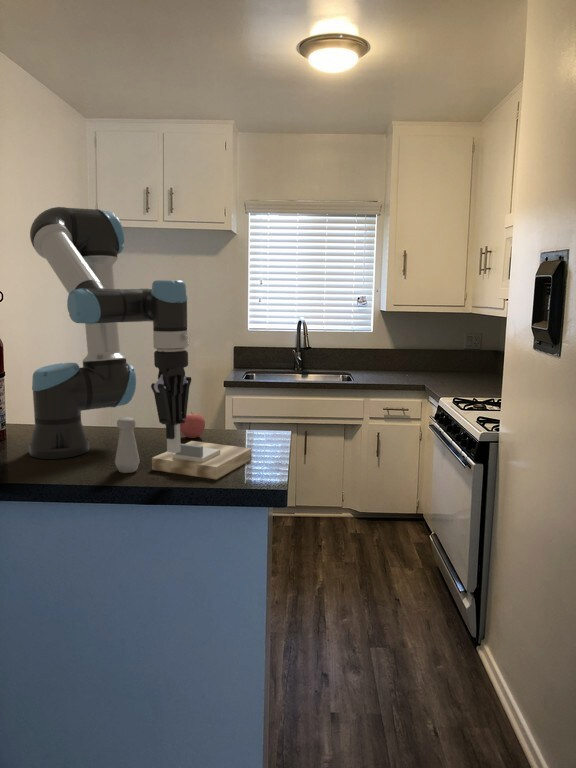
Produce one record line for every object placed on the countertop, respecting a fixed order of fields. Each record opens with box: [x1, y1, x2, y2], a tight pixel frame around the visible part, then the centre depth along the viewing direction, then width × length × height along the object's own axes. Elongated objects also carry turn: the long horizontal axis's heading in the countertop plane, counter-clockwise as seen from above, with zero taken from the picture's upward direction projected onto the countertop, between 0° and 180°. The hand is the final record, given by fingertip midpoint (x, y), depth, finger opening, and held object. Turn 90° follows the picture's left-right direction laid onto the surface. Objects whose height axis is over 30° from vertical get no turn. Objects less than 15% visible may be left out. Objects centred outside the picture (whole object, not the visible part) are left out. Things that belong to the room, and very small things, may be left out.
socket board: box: [151, 440, 252, 480], centre depth 157 cm, size 18×18×3 cm
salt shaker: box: [114, 416, 141, 474], centre depth 151 cm, size 6×6×13 cm
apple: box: [180, 411, 206, 439], centre depth 183 cm, size 7×7×8 cm
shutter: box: [172, 443, 220, 462], centre depth 154 cm, size 8×8×4 cm
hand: (174, 451), depth 144 cm, fingers closed
